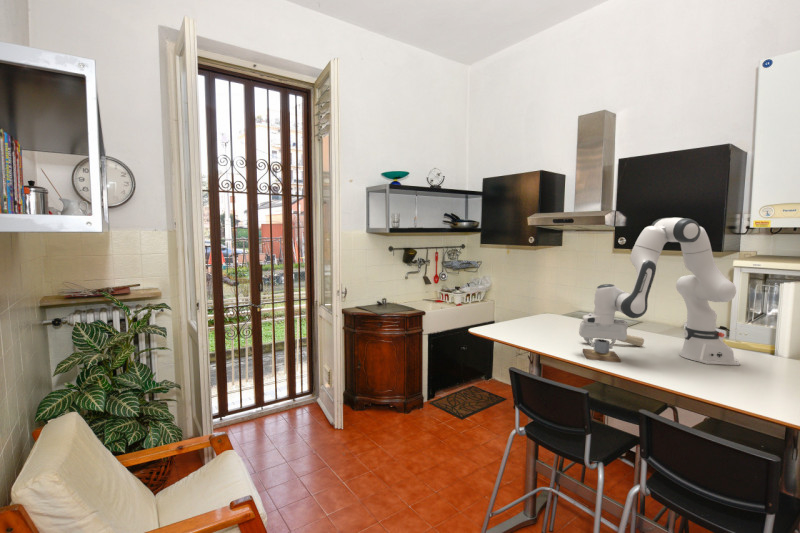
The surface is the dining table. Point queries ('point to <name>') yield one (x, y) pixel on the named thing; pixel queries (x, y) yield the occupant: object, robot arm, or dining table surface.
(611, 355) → the post board
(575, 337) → the dining table surface
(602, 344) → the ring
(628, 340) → the hammer
